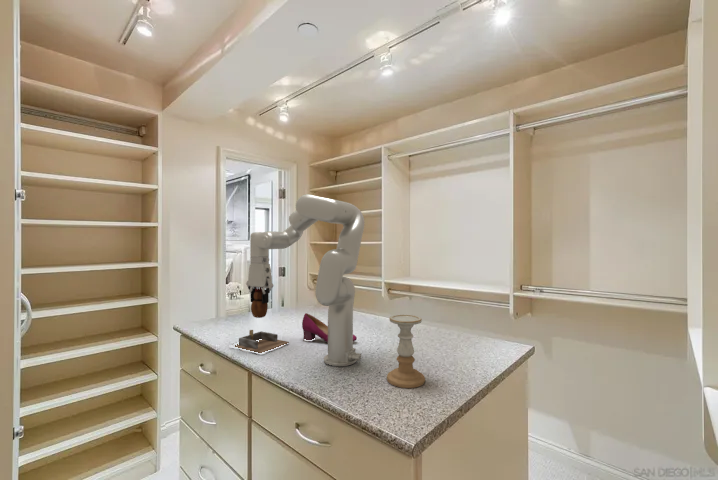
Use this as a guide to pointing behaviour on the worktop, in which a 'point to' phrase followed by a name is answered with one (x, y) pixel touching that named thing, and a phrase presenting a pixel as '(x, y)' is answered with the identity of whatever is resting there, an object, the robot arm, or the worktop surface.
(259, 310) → the wooden figurine
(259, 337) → the board
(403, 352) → the candle holder
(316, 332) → the high heel
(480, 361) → the worktop surface
